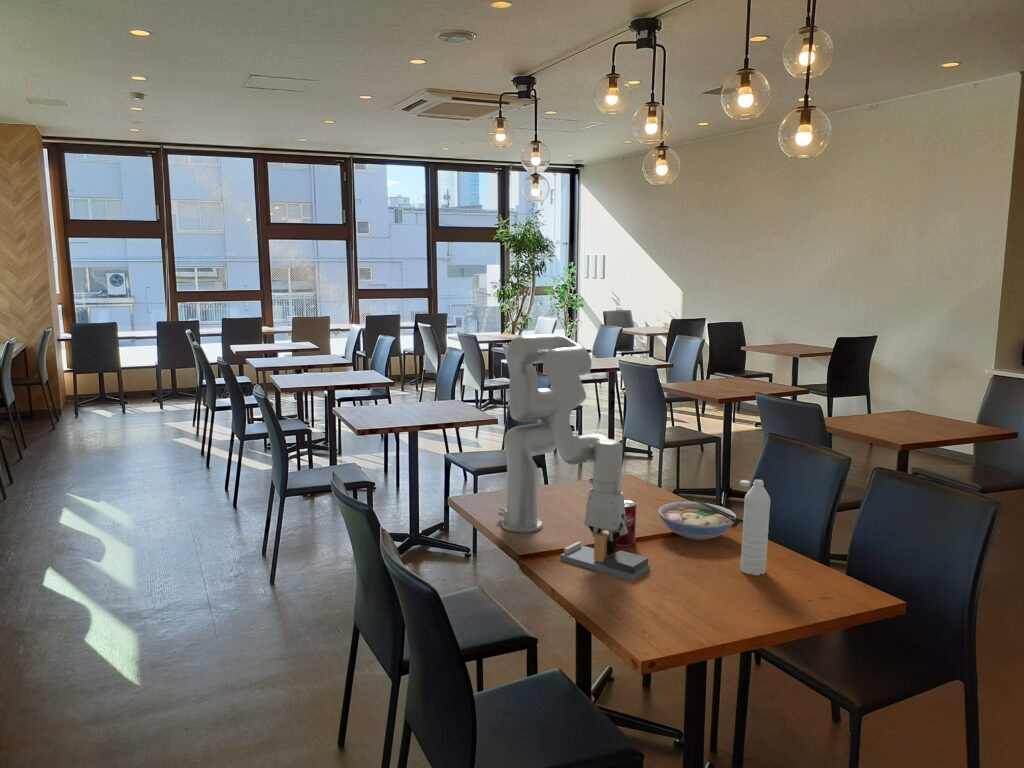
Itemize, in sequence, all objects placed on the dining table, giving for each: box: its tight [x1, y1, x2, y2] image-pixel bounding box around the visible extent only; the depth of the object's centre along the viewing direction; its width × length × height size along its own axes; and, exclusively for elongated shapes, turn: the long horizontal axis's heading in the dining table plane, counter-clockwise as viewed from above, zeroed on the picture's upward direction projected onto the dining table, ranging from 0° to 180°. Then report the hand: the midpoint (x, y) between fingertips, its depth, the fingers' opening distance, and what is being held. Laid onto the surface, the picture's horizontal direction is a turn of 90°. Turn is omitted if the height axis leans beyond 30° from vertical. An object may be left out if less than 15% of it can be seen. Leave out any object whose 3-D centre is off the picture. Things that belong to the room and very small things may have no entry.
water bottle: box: [739, 479, 771, 576], centre depth 204 cm, size 9×6×25 cm
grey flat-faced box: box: [605, 549, 649, 574], centre depth 205 cm, size 8×8×2 cm
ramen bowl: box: [657, 498, 744, 542], centre depth 232 cm, size 25×23×8 cm
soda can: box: [616, 499, 638, 547], centre depth 226 cm, size 7×7×12 cm
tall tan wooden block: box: [593, 530, 616, 563], centre depth 206 cm, size 12×6×7 cm, turn 51°
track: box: [559, 541, 651, 582], centre depth 209 cm, size 22×10×3 cm, turn 51°
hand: (604, 551), depth 209 cm, fingers closed on tall tan wooden block, 3 cm apart
